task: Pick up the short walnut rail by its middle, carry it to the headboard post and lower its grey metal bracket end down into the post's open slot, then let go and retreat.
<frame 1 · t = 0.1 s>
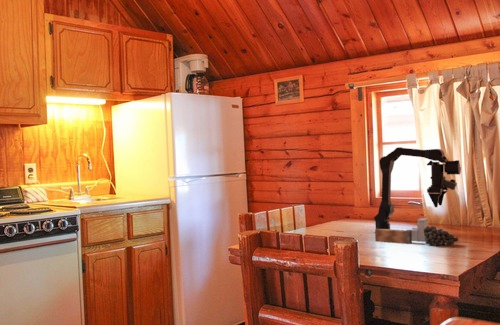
hand: (438, 206, 245), 15 cm above the table, fingers open, 9 cm apart
fruit: (440, 245, 222), on the table
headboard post: (418, 239, 237), on the table
rail: (393, 241, 233), on the table
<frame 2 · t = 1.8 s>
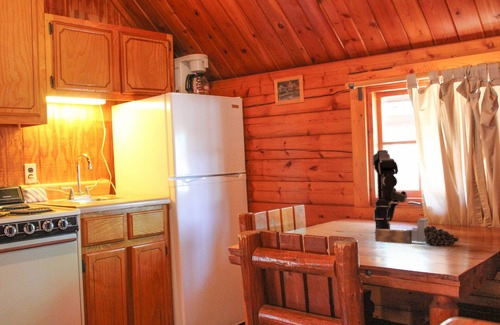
hand: (388, 219, 234), 10 cm above the table, fingers open, 9 cm apart
nothing on the table moved.
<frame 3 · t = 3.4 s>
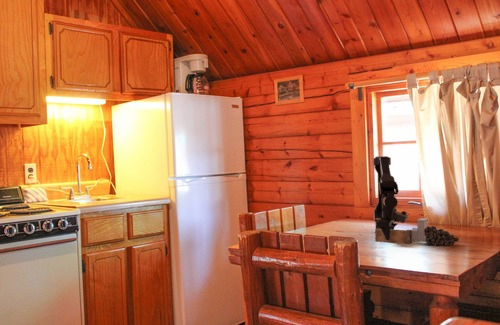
hand: (389, 239, 234), 1 cm above the table, fingers closed on rail, 3 cm apart
rail: (393, 241, 233), on the table, touching gripper
everything else where it was.
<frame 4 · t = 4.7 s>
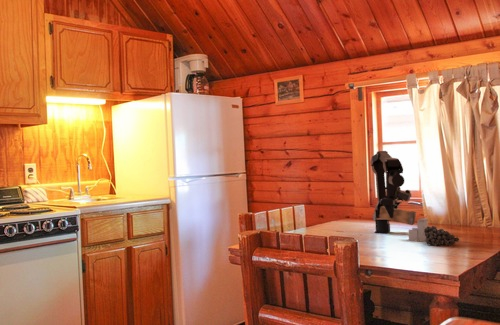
hand: (392, 217, 239), 11 cm above the table, fingers closed on rail, 3 cm apart
rail: (396, 220, 238), point 9 cm above the table, tilted 9°, touching gripper
everything else where it was.
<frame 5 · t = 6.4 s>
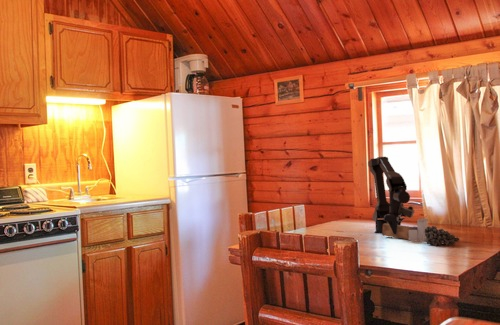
hand: (396, 233, 242), 2 cm above the table, fingers closed on rail, 3 cm apart
rail: (399, 237, 242), point 1 cm above the table, touching gripper
everything else where it was.
when the fingers open (2 cm above the table, at t = 6.6 s): rail stays where it is, on the table.
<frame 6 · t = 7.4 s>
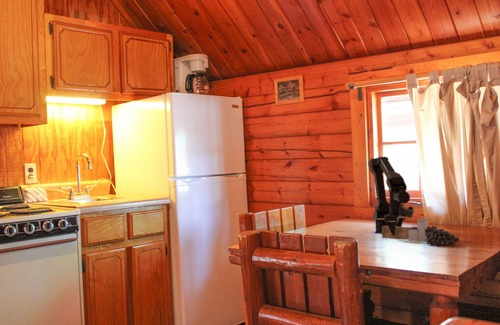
hand: (396, 233, 242), 2 cm above the table, fingers open, 9 cm apart
rail: (399, 238, 242), on the table
everything else where it was.
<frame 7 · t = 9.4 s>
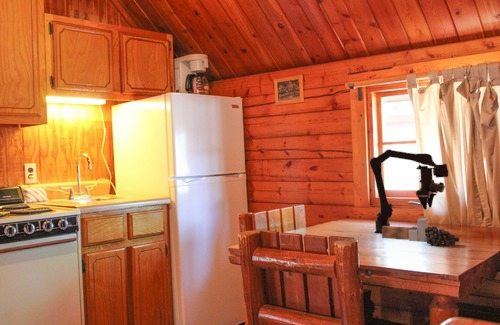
hand: (427, 208, 256), 12 cm above the table, fingers open, 9 cm apart
nothing on the table moved.
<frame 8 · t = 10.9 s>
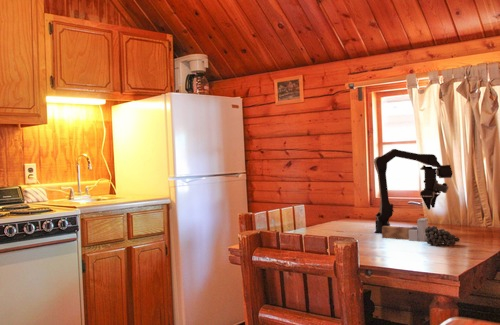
hand: (431, 208, 258), 12 cm above the table, fingers open, 9 cm apart
nothing on the table moved.
at the end: rail 0.5 cm from the target spot, on the table; rail tilted 0°; the gripper is holding nothing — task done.
